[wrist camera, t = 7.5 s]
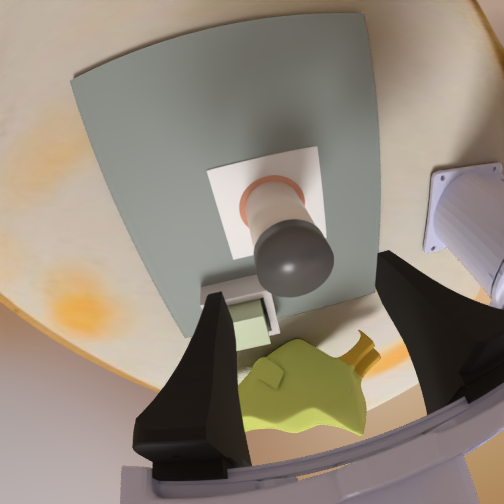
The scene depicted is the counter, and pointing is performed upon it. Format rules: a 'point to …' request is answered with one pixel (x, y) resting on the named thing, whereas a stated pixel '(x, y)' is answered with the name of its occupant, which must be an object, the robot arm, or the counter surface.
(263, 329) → the button
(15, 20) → the counter surface
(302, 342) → the toy
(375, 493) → the robot arm
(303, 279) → the jar with dark lid
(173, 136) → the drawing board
